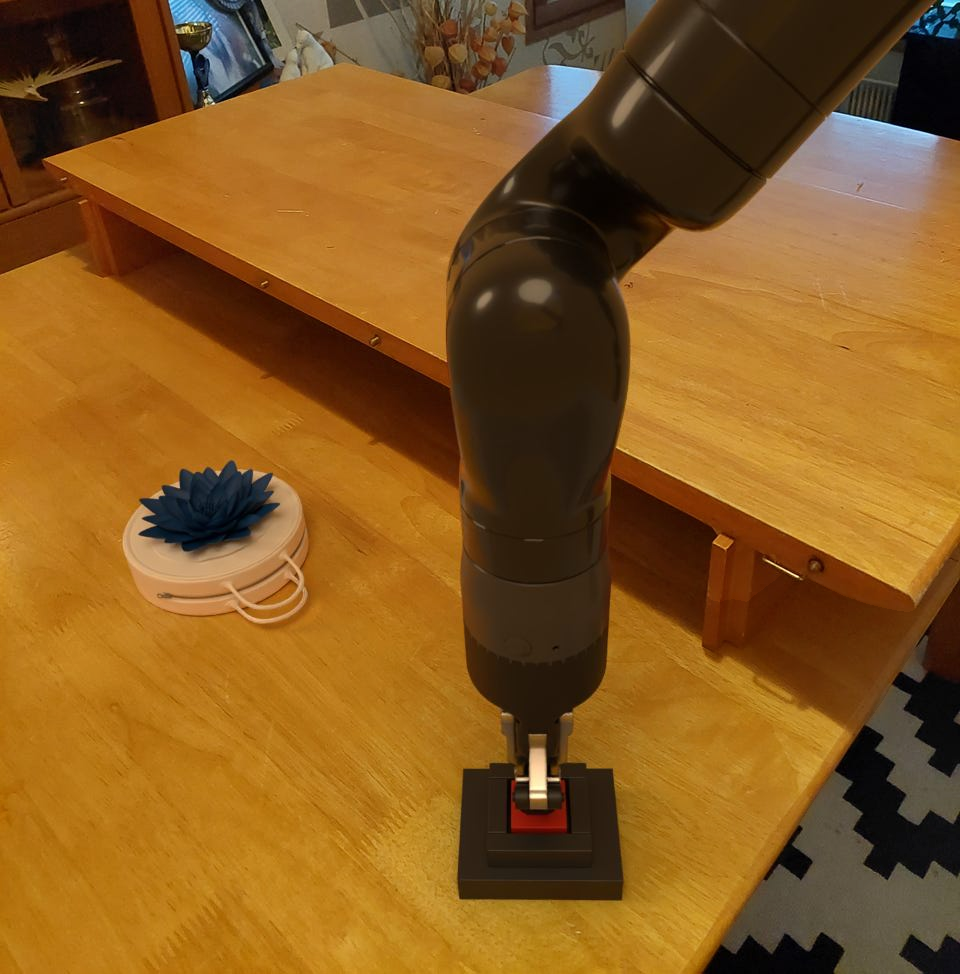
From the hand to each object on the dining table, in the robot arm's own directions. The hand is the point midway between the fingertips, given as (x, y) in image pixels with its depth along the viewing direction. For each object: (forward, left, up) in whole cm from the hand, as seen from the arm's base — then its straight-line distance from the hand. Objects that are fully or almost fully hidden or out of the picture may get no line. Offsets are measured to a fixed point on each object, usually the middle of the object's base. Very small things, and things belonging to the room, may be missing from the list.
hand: (537, 802), depth 58 cm
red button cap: (0, 0, -2) cm, 2 cm away
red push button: (0, 0, -4) cm, 4 cm away
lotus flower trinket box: (+32, -20, -4) cm, 38 cm away
